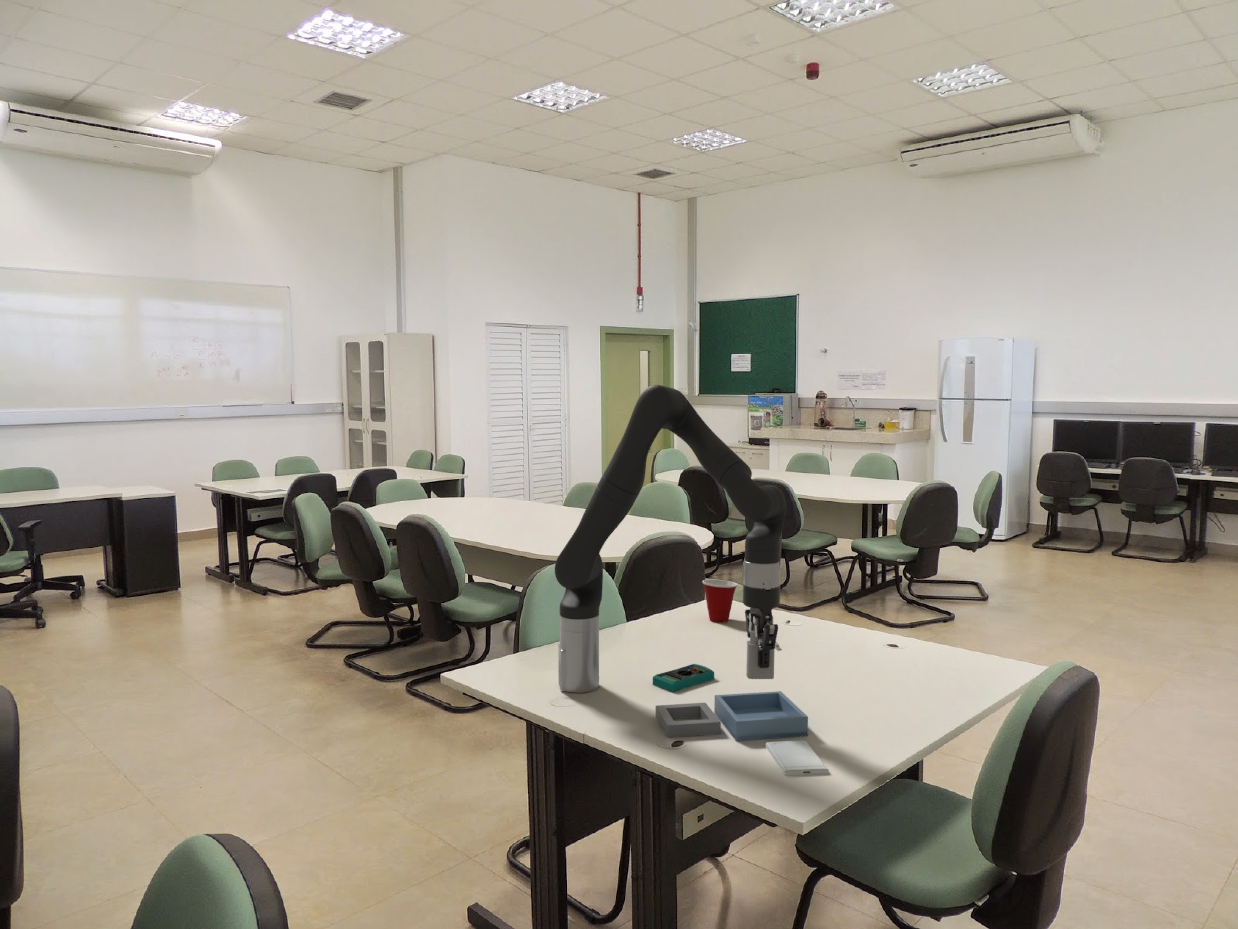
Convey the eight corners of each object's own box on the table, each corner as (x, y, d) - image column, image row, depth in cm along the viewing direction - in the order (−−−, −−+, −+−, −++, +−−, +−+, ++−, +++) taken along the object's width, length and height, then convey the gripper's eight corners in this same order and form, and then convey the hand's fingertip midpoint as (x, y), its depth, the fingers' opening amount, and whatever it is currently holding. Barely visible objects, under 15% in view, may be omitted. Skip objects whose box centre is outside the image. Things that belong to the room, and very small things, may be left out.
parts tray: (736, 741, 168) (736, 721, 168) (714, 713, 183) (714, 695, 182) (807, 736, 171) (808, 716, 170) (780, 709, 185) (780, 691, 185)
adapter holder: (667, 737, 170) (667, 725, 169) (655, 717, 180) (655, 705, 180) (720, 733, 172) (720, 721, 171) (705, 713, 182) (705, 702, 182)
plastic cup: (744, 621, 257) (745, 582, 256) (716, 626, 252) (717, 586, 251) (722, 613, 266) (722, 576, 265) (694, 618, 261) (695, 580, 260)
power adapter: (774, 679, 174) (775, 621, 174) (748, 679, 174) (749, 621, 173) (771, 674, 178) (772, 617, 177) (745, 674, 178) (746, 617, 177)
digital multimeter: (716, 680, 205) (716, 668, 205) (672, 694, 195) (673, 682, 195) (694, 673, 211) (694, 661, 210) (651, 686, 201) (651, 674, 201)
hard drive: (765, 741, 165) (784, 769, 153) (806, 740, 166) (828, 767, 154) (765, 750, 165) (784, 778, 153) (806, 748, 166) (828, 776, 154)
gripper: (733, 576, 181) (732, 655, 182) (755, 591, 167) (754, 676, 168) (766, 574, 182) (765, 653, 183) (791, 589, 168) (790, 674, 169)
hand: (760, 664), depth 176 cm, fingers closed on power adapter, 3 cm apart
